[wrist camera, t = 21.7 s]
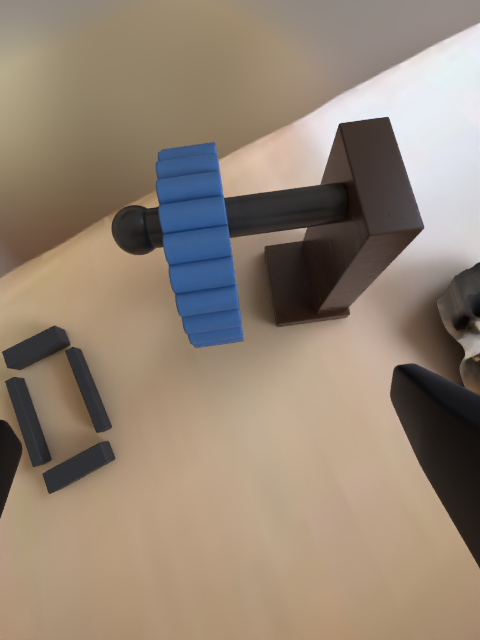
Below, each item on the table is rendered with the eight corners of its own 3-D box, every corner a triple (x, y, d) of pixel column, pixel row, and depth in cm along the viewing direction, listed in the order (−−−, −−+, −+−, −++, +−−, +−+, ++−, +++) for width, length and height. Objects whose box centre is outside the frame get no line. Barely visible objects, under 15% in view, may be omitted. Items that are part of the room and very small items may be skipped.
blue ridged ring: (245, 352, 20) (241, 314, 11) (205, 358, 20) (168, 324, 11) (224, 215, 22) (207, 87, 13) (189, 221, 22) (147, 95, 13)
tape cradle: (123, 454, 20) (115, 457, 19) (52, 493, 19) (40, 498, 18) (71, 326, 22) (61, 321, 21) (7, 358, 22) (-7, 355, 20)
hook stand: (329, 242, 23) (392, 108, 13) (347, 317, 21) (434, 234, 11) (164, 265, 23) (94, 149, 13) (170, 341, 21) (96, 281, 11)
